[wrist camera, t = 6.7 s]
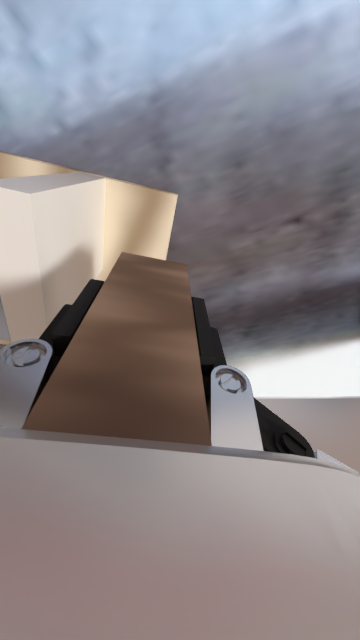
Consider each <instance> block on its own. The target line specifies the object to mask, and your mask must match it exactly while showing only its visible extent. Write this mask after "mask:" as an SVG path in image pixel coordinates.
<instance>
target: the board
mask: <svg viewBox="0 0 360 640" xmlns="http://www.w3.org/2000/svg"><path fill="white" fill-rule="evenodd" d="M73 172H82V173H87V174H91V175H95V176H99V177H103V178H105V209H104V239H103V270H102V271H101V273H100V274H99V276H98V277H97V279H96V280H101V281H104V282H105V281H106V279H107V277H108V275H109V273H110V272H111V270H112V268H113V266H114V265H115V263H116V261H117V259H118V258H119V256H120V254H121V252H126V253H131V254H136V255H141V256H146V257H151V258H156V259H161V260H166V256H167V250H168V245H169V240H170V234H171V229H172V223H173V218H174V213H175V207H176V202H177V197H178V194H176V193H172V192H167V191H163V190H159V189H155V188H151V187H147V186H143V185H139V184H134V183H130V182H126V181H122V180H118V179H114V178H110V177H105V176H101V175H97V174H93V173H89V172H85V171H81V170H76V169H72V168H68V167H64V166H60V165H56V164H52V163H47V162H43V161H39V160H35V159H31V158H27V157H23V156H18V155H14V154H10V153H6V152H2V151H0V179H4V178H16V177H27V176H39V175H50V174H62V173H73ZM10 343H11V341H5V340H0V344H7V345H8V344H10Z"/></svg>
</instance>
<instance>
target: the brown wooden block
mask: <svg viewBox="0 0 360 640" xmlns="http://www.w3.org/2000/svg"><path fill="white" fill-rule="evenodd" d="M21 429H25V430H37V431H49V432H61V433H73V434H84V435H96V436H107V437H119V438H130V439H141V440H152V441H164V442H175V443H185V444H196V445H207V446H212V444H211V436H210V429H209V422H208V415H207V408H206V401H205V393H204V386H203V379H202V372H201V365H200V357H199V350H198V343H197V336H196V329H195V321H194V314H193V307H192V300H191V293H190V285H189V278H188V271H187V265H186V264H181V263H176V262H171V261H166V260H161V259H156V258H151V257H146V256H141V255H136V254H131V253H126V252H121V254H120V256H119V258H118V259H117V261H116V263H115V265H114V266H113V268H112V270H111V272H110V273H109V275H108V277H107V279H106V281H105V282H104V284H103V286H102V288H101V289H100V291H99V293H98V295H97V296H96V298H95V300H94V302H93V303H92V305H91V307H90V309H89V310H88V312H87V314H86V316H85V317H84V319H83V321H82V323H81V324H80V326H79V328H78V330H77V331H76V333H75V335H74V337H73V338H72V340H71V342H70V344H69V346H68V347H67V349H66V351H65V353H64V354H63V356H62V358H61V360H60V361H59V363H58V365H57V367H56V368H55V370H54V372H53V374H52V375H51V377H50V379H49V381H48V382H47V384H46V386H45V388H44V389H43V391H42V393H41V395H40V396H39V398H38V400H37V402H36V403H35V405H34V407H33V409H32V411H31V412H30V414H29V416H28V418H27V419H26V421H25V423H24V425H23V426H22V428H21Z"/></svg>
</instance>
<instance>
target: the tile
mask: <svg viewBox="0 0 360 640" xmlns="http://www.w3.org/2000/svg"><path fill="white" fill-rule="evenodd" d="M104 209H105V178H103V177H99V176H95V175H91V174H87V173H82V172H73V173H62V174H50V175H39V176H27V177H16V178H4V179H0V299H1V304H2V308H3V312H4V316H5V320H6V324H7V329H8V333H9V337H10V341H11V343H12V342H15V341H17V340H22V339H33V338H34V339H39V337H40V336H41V335H42V333H43V332H44V331H45V330H46V328H47V327H48V326H49V324H50V323H51V322H52V320H53V319H54V318H55V316H56V315H57V314H58V313H59V311H60V310H61V309H62V307H63V306H64V305H65V304H70V305H72V304H73V303H74V302H75V300H76V299H77V297H78V296H79V294H80V293H81V292H82V290H83V289H84V287H85V286H86V285H87V283H88V282H89V280H90V279H95V280H96V279H97V277H98V276H99V274H100V273H101V271H102V270H103V239H104Z"/></svg>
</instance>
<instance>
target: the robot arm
mask: <svg viewBox="0 0 360 640" xmlns="http://www.w3.org/2000/svg"><path fill="white" fill-rule="evenodd" d="M103 284H104V281H101V280H95V279H90V280H89V282H88V283H87V285H86V286H85V287H84V289H83V290H82V292H81V293H80V294H79V296H78V297H77V299H76V300H75V302H74V303H73V304H72V305H70V304H65V305H64V306H63V307H62V309H61V310H60V311H59V313H58V314H57V315H56V316H55V318H54V319H53V320H52V322H51V323H50V324H49V326H48V327H47V328H46V330H45V331H44V332H43V333H42V335H41V336H40V337H39V339H34V338H33V339H22V340H17V341H15V342H12V343H10V344H8V345H6V346H5V347H3V348H2V349H1V350H0V640H360V473H359V472H357V471H355V470H353V469H352V468H350V467H348V466H346V465H345V464H343V463H341V462H339V461H338V460H336V459H334V458H332V457H331V456H329V455H327V454H325V453H324V452H322V451H320V450H318V449H317V450H316V451H313V450H312V448H311V446H310V444H309V443H308V442H307V440H306V439H305V438H304V437H303V436H302V435H301V434H300V433H299V432H297V431H296V430H295V429H294V428H292V427H291V426H290V425H288V424H287V423H286V422H284V421H283V420H281V418H279V417H278V416H277V415H275V414H274V413H272V411H270V410H269V409H268V408H266V407H265V406H264V405H262V404H261V403H260V402H259V401H257V400H256V399H255V398H254V397H253V393H252V388H251V384H250V381H249V379H248V378H247V376H246V375H245V374H244V373H242V372H241V371H240V370H238V369H236V368H234V367H231V366H227V364H226V360H225V357H224V353H223V349H222V345H221V342H220V338H219V334H218V331H217V329H216V328H212V327H210V324H209V320H208V316H207V311H206V307H205V302H204V299H201V298H195V297H191V300H192V307H193V314H194V321H195V329H196V336H197V343H198V350H199V357H200V365H201V372H202V379H203V386H204V393H205V401H206V408H207V415H208V422H209V429H210V436H211V444H212V446H207V445H196V444H185V443H175V442H164V441H152V440H141V439H130V438H119V437H107V436H96V435H84V434H73V433H61V432H49V431H37V430H25V429H21V428H22V426H23V425H24V423H25V421H26V419H27V418H28V416H29V414H30V412H31V411H32V409H33V407H34V405H35V403H36V402H37V400H38V398H39V396H40V395H41V393H42V391H43V389H44V388H45V386H46V384H47V382H48V381H49V379H50V377H51V375H52V374H53V372H54V370H55V368H56V367H57V365H58V363H59V361H60V360H61V358H62V356H63V354H64V353H65V351H66V349H67V347H68V346H69V344H70V342H71V340H72V338H73V337H74V335H75V333H76V331H77V330H78V328H79V326H80V324H81V323H82V321H83V319H84V317H85V316H86V314H87V312H88V310H89V309H90V307H91V305H92V303H93V302H94V300H95V298H96V296H97V295H98V293H99V291H100V289H101V288H102V286H103Z"/></svg>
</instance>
